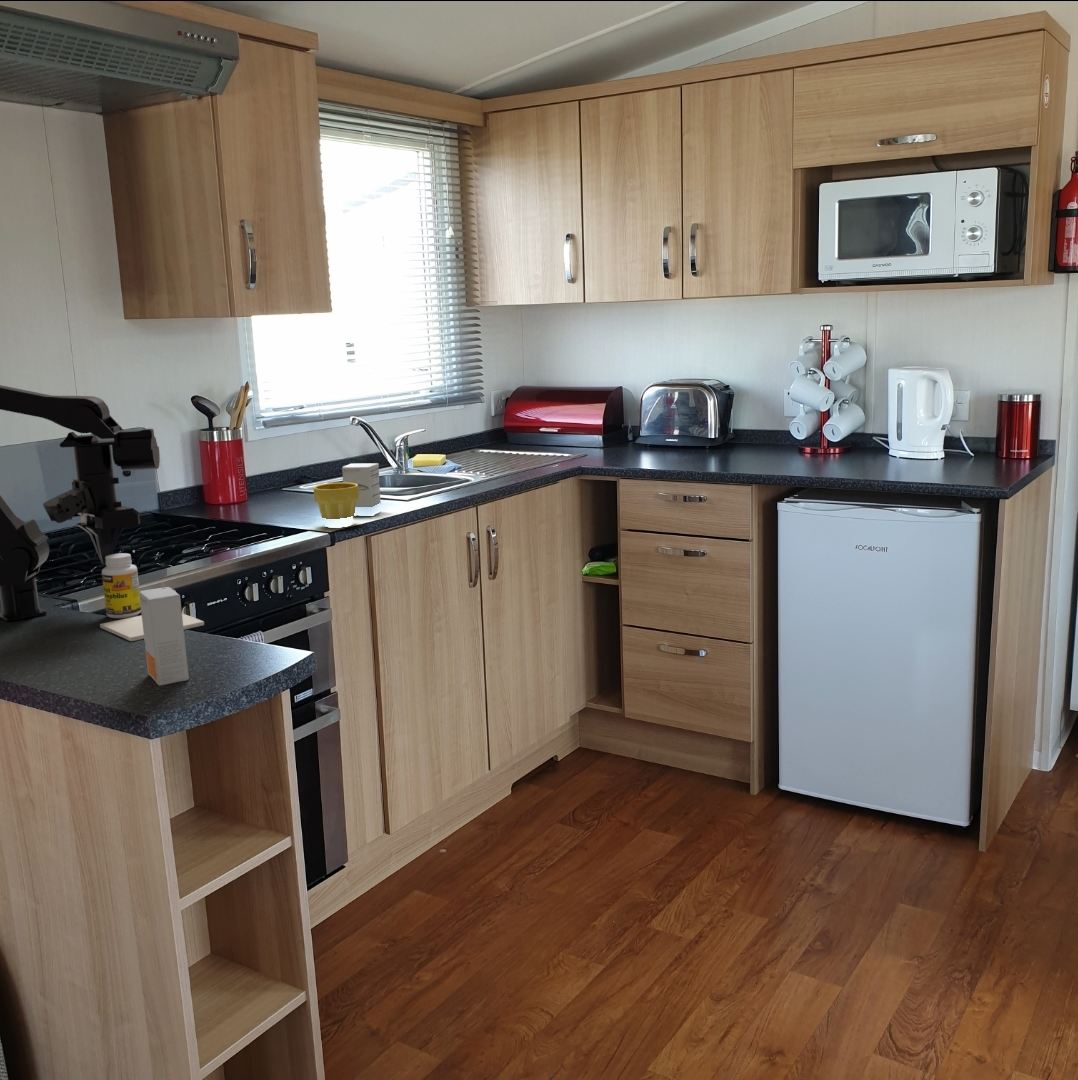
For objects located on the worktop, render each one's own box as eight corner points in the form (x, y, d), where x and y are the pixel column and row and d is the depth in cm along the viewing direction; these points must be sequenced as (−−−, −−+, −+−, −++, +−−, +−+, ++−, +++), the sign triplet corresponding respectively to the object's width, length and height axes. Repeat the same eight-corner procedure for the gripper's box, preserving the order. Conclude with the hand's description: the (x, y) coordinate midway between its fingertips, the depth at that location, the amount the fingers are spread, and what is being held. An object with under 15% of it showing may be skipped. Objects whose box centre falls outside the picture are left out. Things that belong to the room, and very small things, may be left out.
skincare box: (147, 675, 152) (137, 590, 149) (178, 669, 154) (170, 585, 151) (157, 686, 146) (148, 599, 144) (190, 680, 149) (181, 594, 146)
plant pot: (347, 531, 255) (344, 489, 253) (308, 529, 258) (305, 488, 256) (368, 522, 264) (365, 482, 262) (330, 521, 268) (327, 481, 266)
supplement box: (344, 517, 273) (340, 466, 271) (354, 512, 280) (351, 462, 278) (372, 517, 272) (369, 466, 269) (382, 512, 279) (379, 462, 277)
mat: (100, 627, 177) (100, 624, 177) (171, 612, 185) (171, 609, 185) (131, 641, 169) (130, 637, 169) (204, 625, 177) (203, 621, 177)
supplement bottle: (100, 619, 183) (93, 559, 181) (117, 610, 188) (111, 552, 186) (131, 619, 182) (124, 558, 180) (148, 610, 187) (141, 551, 185)
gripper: (25, 474, 186) (37, 564, 189) (67, 482, 173) (79, 579, 176) (91, 466, 193) (101, 553, 197) (136, 474, 180) (146, 567, 183)
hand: (105, 563), depth 188 cm, fingers closed
